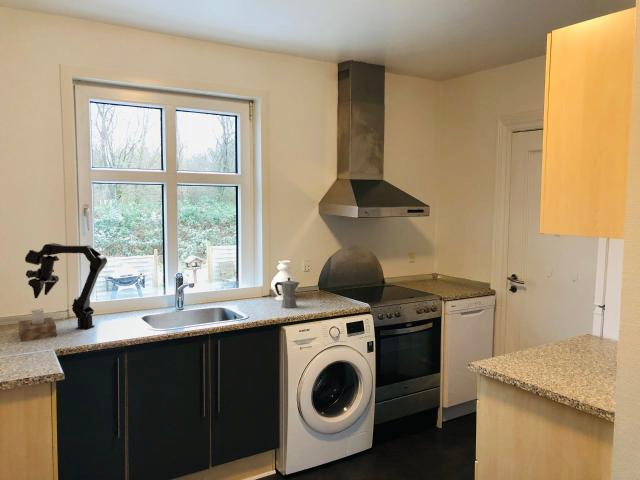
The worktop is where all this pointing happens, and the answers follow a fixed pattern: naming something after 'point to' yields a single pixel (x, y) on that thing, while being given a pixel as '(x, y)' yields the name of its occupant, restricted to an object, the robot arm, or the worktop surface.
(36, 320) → the aluminium bar
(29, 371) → the worktop surface
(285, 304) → the coffeepot
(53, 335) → the walnut pocket block
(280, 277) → the decorative vase
